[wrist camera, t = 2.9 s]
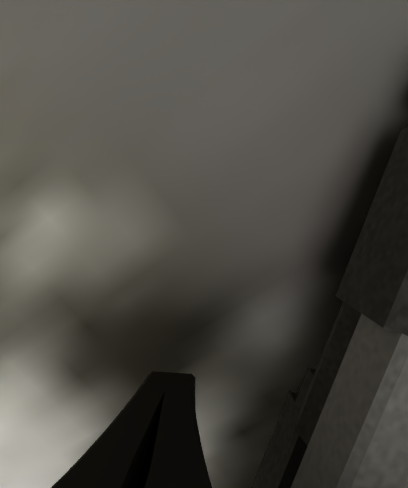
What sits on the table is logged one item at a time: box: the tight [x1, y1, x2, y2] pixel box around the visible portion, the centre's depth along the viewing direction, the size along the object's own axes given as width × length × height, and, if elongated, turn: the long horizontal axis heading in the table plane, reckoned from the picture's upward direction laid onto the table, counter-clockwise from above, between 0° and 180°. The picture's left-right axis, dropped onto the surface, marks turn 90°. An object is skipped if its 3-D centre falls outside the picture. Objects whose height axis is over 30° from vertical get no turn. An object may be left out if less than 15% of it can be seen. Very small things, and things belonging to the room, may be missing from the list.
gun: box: [252, 127, 408, 488], centre depth 9 cm, size 4×20×10 cm, turn 162°
